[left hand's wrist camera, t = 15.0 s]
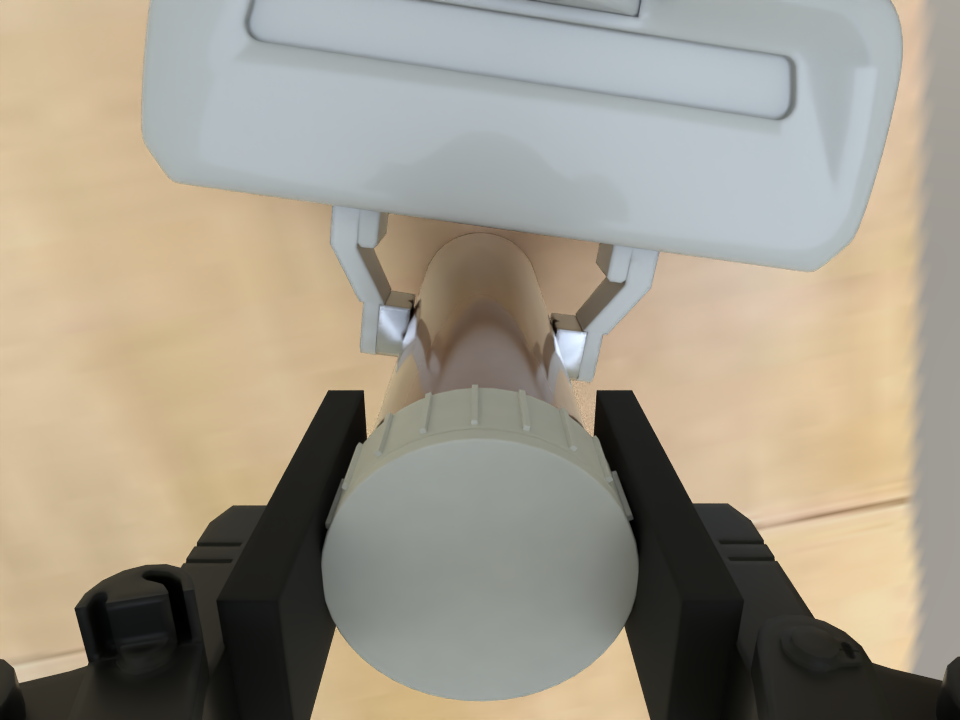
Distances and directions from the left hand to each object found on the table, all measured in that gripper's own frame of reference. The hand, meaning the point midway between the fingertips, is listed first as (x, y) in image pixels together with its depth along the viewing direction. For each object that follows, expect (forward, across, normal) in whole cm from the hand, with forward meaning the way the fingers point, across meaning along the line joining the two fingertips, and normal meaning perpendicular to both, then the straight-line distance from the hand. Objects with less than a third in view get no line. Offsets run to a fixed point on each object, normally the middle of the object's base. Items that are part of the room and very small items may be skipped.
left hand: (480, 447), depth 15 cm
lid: (-4, 0, 0) cm, 4 cm away
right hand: (+8, 0, -1) cm, 8 cm away
